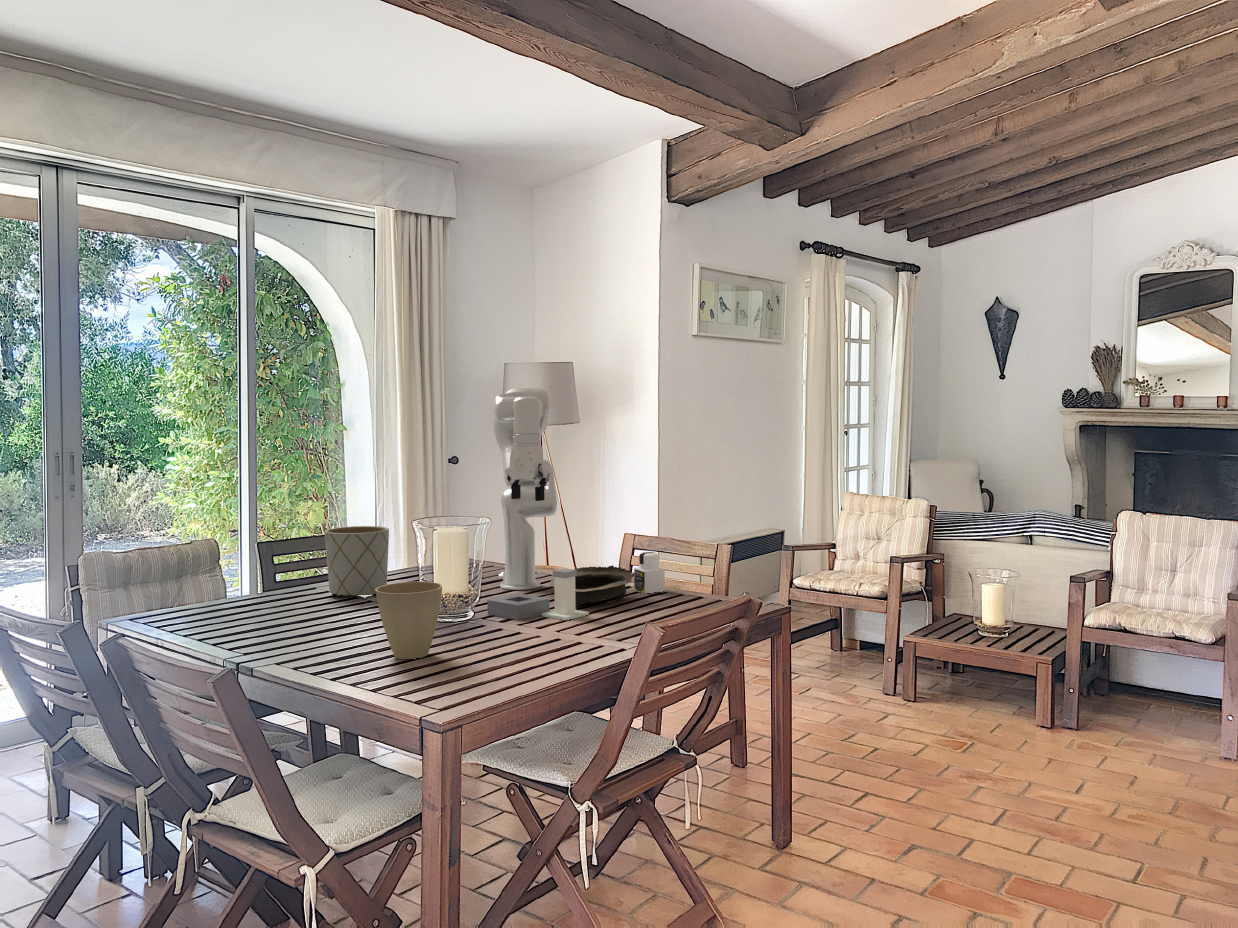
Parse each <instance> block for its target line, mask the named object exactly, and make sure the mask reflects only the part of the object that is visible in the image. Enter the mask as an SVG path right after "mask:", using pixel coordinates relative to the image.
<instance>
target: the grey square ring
mask: <svg viewBox="0 0 1238 928" xmlns="http://www.w3.org/2000/svg"><path fill="white" fill-rule="evenodd" d="M486 601H487V615H488V614H489V616H493V615H494V617H499V618H506V619H511V620H516V621H520V620H525V619H529V618H533V617H534V618H535V617H538V616H542V613H545V612H550V597H549V598H548V597H542V596H536V595H530V594H524V593H514V594H510V595H506V596H505V595H504V596H499V597H495V598H491V599H486Z"/></svg>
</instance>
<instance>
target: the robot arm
mask: <svg viewBox="0 0 1238 928" xmlns="http://www.w3.org/2000/svg"><path fill="white" fill-rule="evenodd" d="M493 401H494V402H493V414H494V415H493V420H492V426H493V427H492V428H493V433H494V437H495V440H496V443H497V445H498V447H499V449H500V451H501V454H502V467H503V468H502V469H503V480H504V483H505V485H506V487H508V489H507V488H506V490H503V492H502V493H501V494H502V495H501V497H500V499H501V500H500V502H501V509H502V515H503V527H504V570H503V571H502V572H501V573H498V578H500V579H502V582H500V584H499V585H500V588H501V589H504V590H510V591H511V590H512V591H515V590H516V591H523V590H532V589H537V588H540V587H541V582H540V581H539V580H536V540H535V539H536V538H535V537H536V536H535V530H534V527H533V526H532V524H530V523H529V521H528V520H527V519H528V518H548V517H552V516H554V515H555V514H556V512H557V510H558V500H557V489H556V482H555V475H554V473H555V472H554V468H553V466H552V463H551V462H549V461H548V460H545V459H544V454H543V453H544V452H543V448H542V444H541V435H542V434H544V433H545V432H546V429H547V425H548V418H549V413H550V412H549V411H550V397H549V394H548V392H547V390H546V389H545V388H542V387H513V388H511V389H509V390H507V391H506V392H505V393H502V394H497V395H496V396H495V399H494V400H493Z"/></svg>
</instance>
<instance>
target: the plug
mask: <svg viewBox="0 0 1238 928" xmlns="http://www.w3.org/2000/svg"><path fill="white" fill-rule="evenodd" d="M575 576H577V570H574V569H571V568H566V567H565V568H559V569H554V570H552V577H554V578H553V579H554V587H553V588H554V589H553V590H554V610H555V613H558V614H564V615H567V614H571V613H575V612H576V610H577V609H576V605H575Z"/></svg>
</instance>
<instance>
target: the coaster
mask: <svg viewBox="0 0 1238 928" xmlns="http://www.w3.org/2000/svg"><path fill="white" fill-rule="evenodd" d="M575 610H576V612H575V613H571V614H567V615H564V614H558V613H555V609H554V610H551V611H550V612H545V613H542V615H541V616H542V617H545V618H551V619H555V620H560V619H561V621H566V620H567V621H571V620H575V619H577V618H582V617H585V616H586V615H587V616H589V615H590V612H589V611H584V610H580V609H579V610H578V609H575ZM570 619H571V620H570Z"/></svg>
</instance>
